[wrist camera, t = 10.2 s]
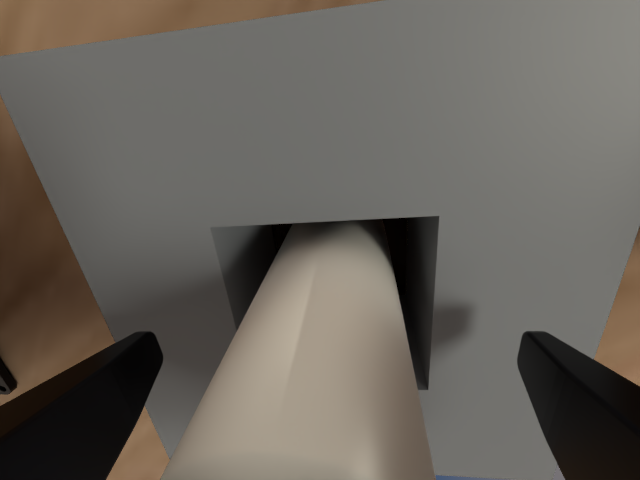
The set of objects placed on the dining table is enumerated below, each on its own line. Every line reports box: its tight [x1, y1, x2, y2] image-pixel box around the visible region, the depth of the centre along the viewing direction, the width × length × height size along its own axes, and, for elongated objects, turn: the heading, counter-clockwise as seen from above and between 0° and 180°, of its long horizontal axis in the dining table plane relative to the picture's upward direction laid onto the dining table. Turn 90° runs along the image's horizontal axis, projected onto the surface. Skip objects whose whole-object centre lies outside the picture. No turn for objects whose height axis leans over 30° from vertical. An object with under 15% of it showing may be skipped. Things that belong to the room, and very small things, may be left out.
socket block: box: [0, 0, 640, 480], centre depth 11 cm, size 14×14×5 cm
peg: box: [160, 219, 436, 480], centre depth 9 cm, size 4×4×10 cm
